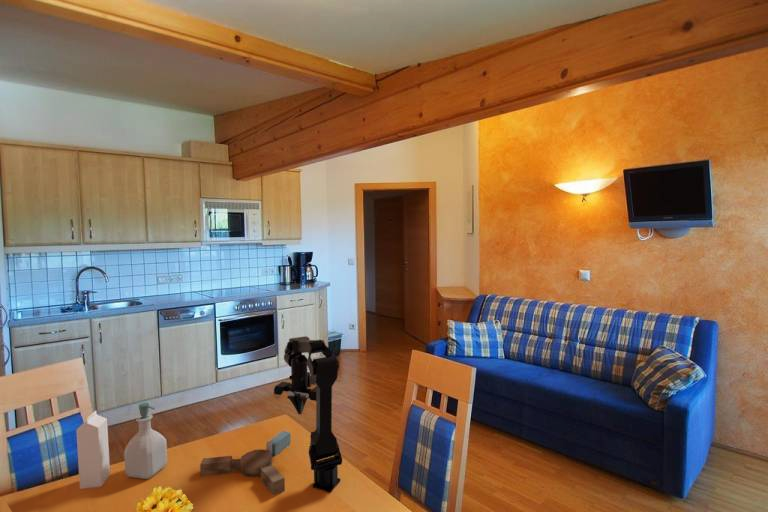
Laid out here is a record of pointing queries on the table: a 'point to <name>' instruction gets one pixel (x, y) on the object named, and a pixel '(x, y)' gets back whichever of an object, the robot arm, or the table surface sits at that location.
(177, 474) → the table surface
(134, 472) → the soap bottle
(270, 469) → the wooden three-arm spinner
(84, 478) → the milk
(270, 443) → the grey long block
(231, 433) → the table surface
